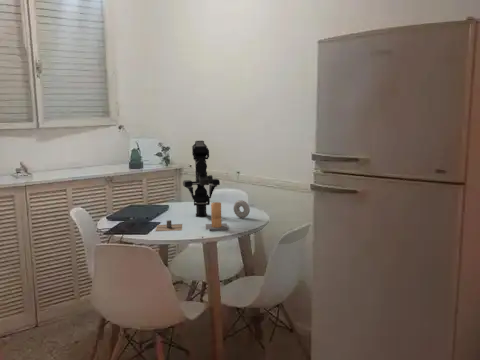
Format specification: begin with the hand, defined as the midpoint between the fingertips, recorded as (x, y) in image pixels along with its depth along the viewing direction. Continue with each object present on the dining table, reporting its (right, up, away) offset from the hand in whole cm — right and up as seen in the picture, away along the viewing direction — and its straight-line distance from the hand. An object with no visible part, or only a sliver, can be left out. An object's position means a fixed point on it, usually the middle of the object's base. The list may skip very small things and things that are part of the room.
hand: (201, 198), depth 263 cm
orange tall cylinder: (+8, -14, -10) cm, 19 cm away
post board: (-16, -15, -11) cm, 25 cm away
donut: (+21, -11, +12) cm, 27 cm away
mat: (+8, -15, -10) cm, 20 cm away
